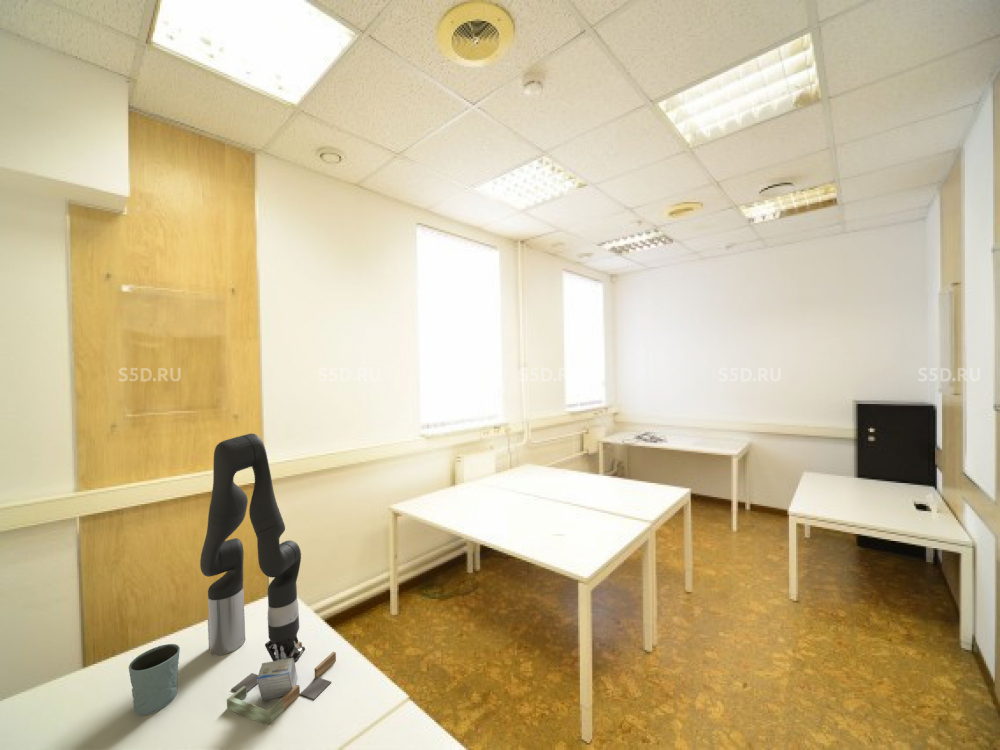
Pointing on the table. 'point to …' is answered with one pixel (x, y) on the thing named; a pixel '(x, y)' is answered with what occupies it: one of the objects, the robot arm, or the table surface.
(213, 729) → the table surface
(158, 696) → the blue-grey vase
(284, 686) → the medicine box
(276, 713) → the trap channel
